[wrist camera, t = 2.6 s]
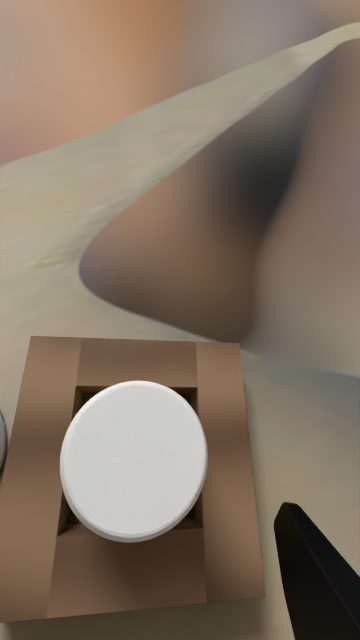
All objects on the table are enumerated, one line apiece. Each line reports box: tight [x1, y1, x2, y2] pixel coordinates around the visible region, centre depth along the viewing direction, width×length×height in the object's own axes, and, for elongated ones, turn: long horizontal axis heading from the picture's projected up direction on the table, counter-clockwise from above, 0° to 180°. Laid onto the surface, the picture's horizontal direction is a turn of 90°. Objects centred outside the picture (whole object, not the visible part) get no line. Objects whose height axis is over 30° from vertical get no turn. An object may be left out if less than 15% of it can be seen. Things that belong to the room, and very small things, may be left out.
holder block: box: [0, 336, 265, 623], centre depth 16 cm, size 12×12×2 cm
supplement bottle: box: [60, 381, 208, 543], centre depth 12 cm, size 5×5×10 cm
